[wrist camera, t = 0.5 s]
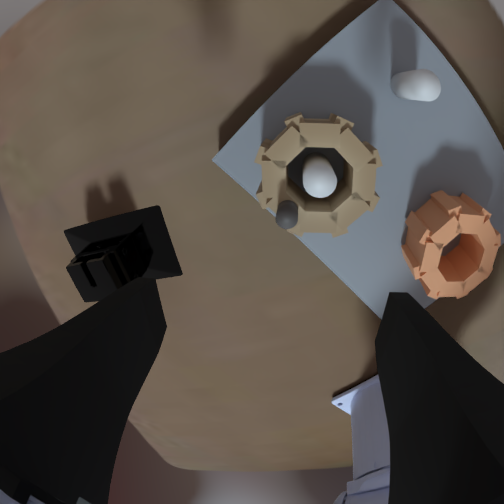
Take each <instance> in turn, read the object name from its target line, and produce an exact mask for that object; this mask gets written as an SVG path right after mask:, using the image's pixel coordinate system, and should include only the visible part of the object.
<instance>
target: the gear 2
mask: <svg viewBox="0 0 504 504" xmlns="http://www.w3.org/2000/svg"><path fill="white" fill-rule="evenodd" d="M430 195H431V198H430V199H429V200H428V201H427V202H426V203H425V204H424V205H422V206H421V207H420V208H419V209H418V210H417V211H416V212H413V211H411V212H410V214H409V216H408V217H407V219H406V221H405V223H406V225H407V226H408V230H407V236H406V242H405V244H404V245H401V249H402V253H403V257H404V259H405V261H406V263H407V265H408V267H409V268H410V270H411V272H412V274H413V276H414V278H415V280H417V279H419V280H420V282H421V284H422V286H423V288H424V290H425V292H426V294H427V296H429V297H431V298H434V299H436V300H437V299H438V297H456V298H457V299H459V298H461V297H464V296H466V295H468V293H469V292H470V291H471V290H472V289H474V288H475V287H476V286H477V285H478V284H480V283H481V282H482V281H483V280H484V279H487V278H488V276H489V275H490V273H491V272H492V270H493V268H492V266H493V263H494V260H495V257H496V254H497V251H498V247H499V246H501V234H500V233H499V232H498V231H497V230H496V229H495V228H494V227H492V225H491V223H490V220H489V219H490V217H491V215H492V214H490V213H489V212H488V211H487V210H485V209H484V208H483V207H482V206H480V205H479V204H478V203H477V202H475V201H474V200H473V199H471V198H470V197H469V196H467V195H466V194H464V193H463V192H462V194H461V196H460V197H459V196H449V195H447V194H446V193H445V192H444V191H442V190H440V191H437V192H434V193H432V194H430ZM459 233H462V234H461V238H460V242H459V245H457V246H456V247H455V248H454V249H453V250H452V251H450V252H449V253H448V254H447V255H446V256H441V253H442V249H443V247H444V246H445V245H447V244H448V243H449V242H450V241H451V240H453V239H454V238H455V237H456V236H457V235H458V234H459Z"/></svg>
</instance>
